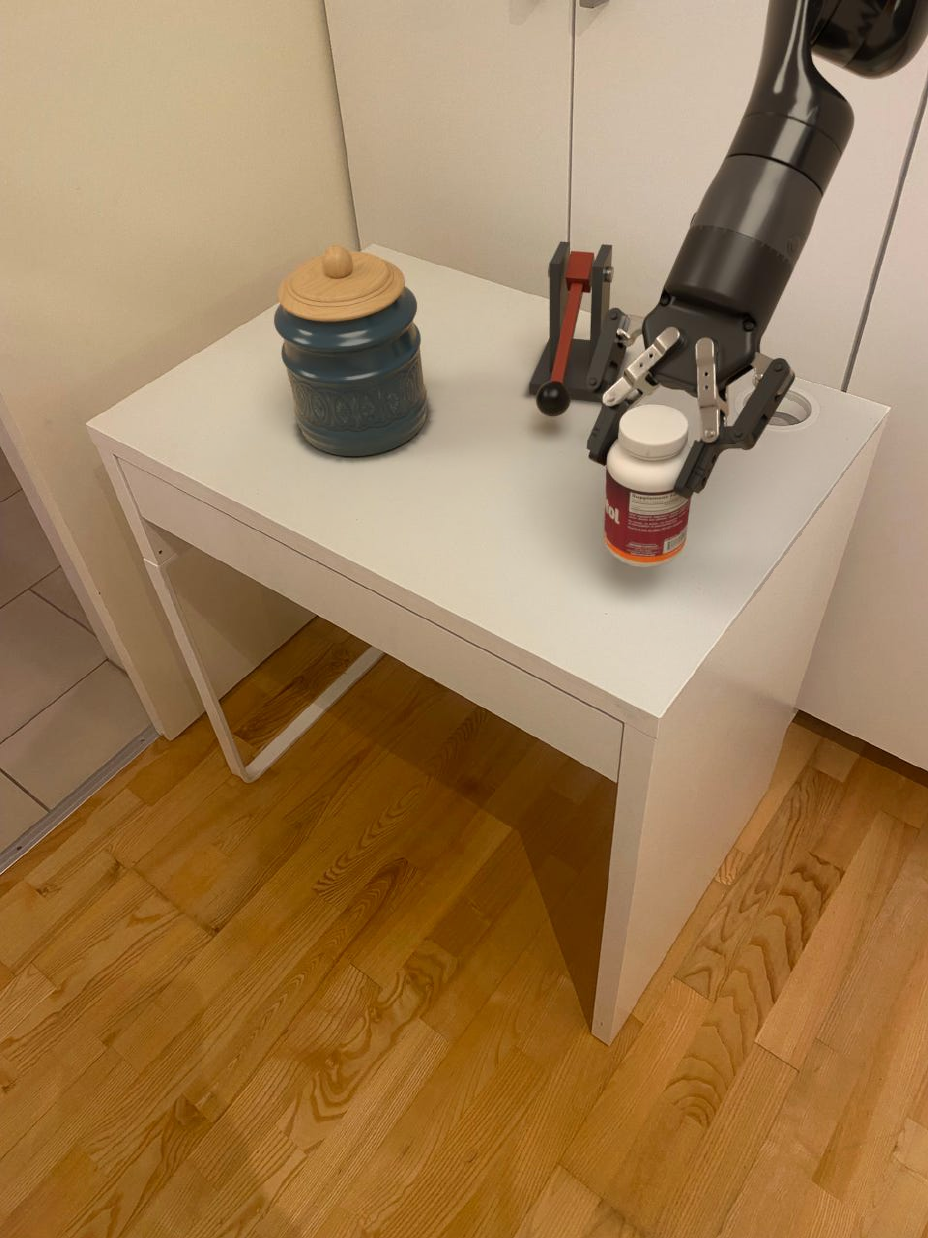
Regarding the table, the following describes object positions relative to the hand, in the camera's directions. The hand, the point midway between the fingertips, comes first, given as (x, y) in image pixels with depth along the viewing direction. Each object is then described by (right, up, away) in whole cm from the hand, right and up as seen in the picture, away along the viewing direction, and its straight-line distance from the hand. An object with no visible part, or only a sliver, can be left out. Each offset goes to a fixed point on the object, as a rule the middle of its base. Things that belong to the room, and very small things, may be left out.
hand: (637, 477), depth 67 cm
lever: (-2, +16, +23) cm, 28 cm away
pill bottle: (+2, -4, +6) cm, 8 cm away
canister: (-22, +10, +28) cm, 37 cm away
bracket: (0, +15, +31) cm, 34 cm away
